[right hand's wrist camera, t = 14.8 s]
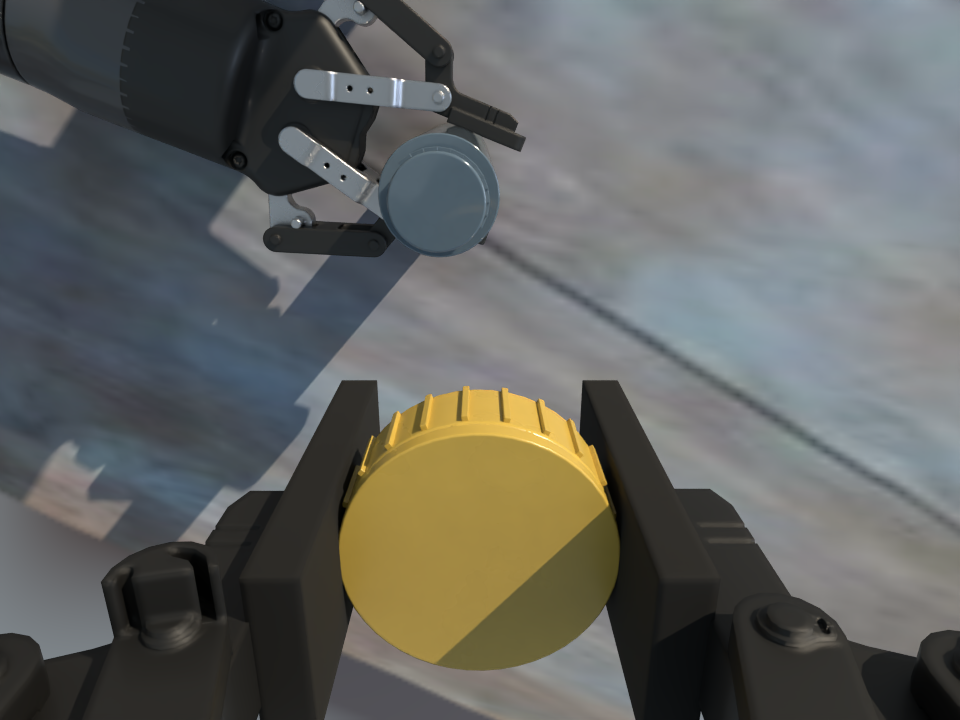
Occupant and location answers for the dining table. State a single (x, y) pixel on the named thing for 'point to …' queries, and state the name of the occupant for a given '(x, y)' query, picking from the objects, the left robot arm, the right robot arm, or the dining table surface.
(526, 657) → the lid
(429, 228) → the gray cylinder
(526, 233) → the dining table surface
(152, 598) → the right robot arm
